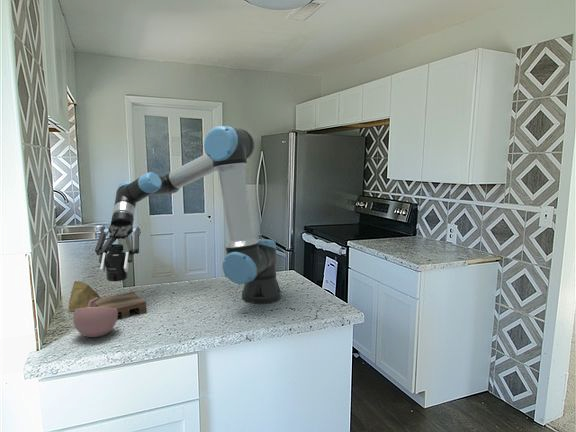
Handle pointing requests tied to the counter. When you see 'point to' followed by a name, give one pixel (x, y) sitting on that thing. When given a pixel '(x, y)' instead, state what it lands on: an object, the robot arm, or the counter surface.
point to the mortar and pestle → (94, 319)
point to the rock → (81, 296)
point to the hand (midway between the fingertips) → (114, 270)
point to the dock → (123, 303)
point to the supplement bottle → (115, 263)
